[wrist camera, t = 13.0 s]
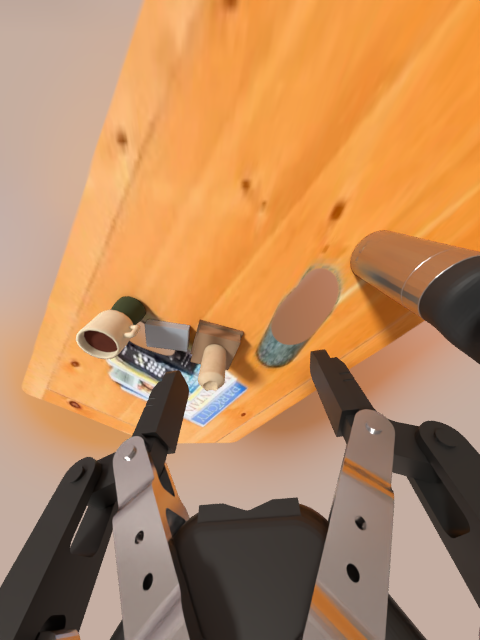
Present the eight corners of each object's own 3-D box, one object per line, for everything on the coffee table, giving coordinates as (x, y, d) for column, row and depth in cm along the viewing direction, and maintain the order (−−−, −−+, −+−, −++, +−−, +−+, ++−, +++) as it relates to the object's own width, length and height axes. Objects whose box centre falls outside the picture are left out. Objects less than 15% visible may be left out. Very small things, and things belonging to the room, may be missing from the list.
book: (190, 325, 46) (188, 330, 45) (188, 346, 50) (187, 351, 48) (147, 319, 45) (144, 323, 43) (149, 341, 49) (146, 346, 47)
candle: (231, 351, 46) (229, 385, 37) (217, 363, 48) (213, 398, 40) (212, 340, 44) (207, 373, 35) (199, 353, 46) (191, 387, 38)
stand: (243, 331, 48) (243, 341, 44) (229, 361, 53) (229, 372, 50) (199, 319, 45) (197, 329, 42) (190, 351, 51) (187, 362, 48)
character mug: (116, 321, 45) (79, 361, 34) (102, 295, 41) (54, 330, 30) (160, 318, 45) (137, 357, 34) (150, 291, 41) (120, 326, 30)
